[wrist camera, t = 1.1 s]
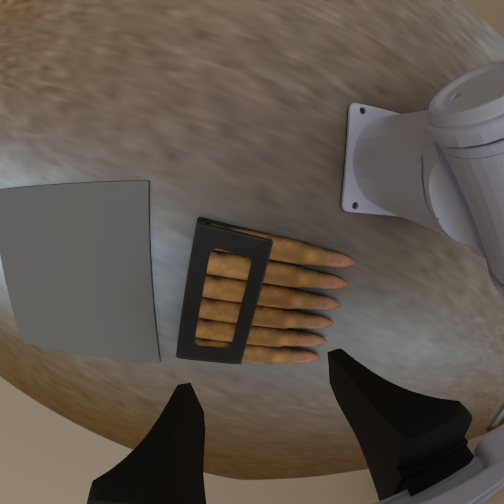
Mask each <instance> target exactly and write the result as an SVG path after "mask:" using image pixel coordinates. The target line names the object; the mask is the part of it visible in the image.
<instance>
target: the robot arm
mask: <svg viewBox="0 0 504 504" xmlns="http://www.w3.org/2000/svg"><path fill="white" fill-rule="evenodd" d="M360 108H362V109H363V111H364V113H363V114H361V113H360ZM354 202H356V207H355V208H352V204H353V203H354ZM341 207H342V209H343V210H344V211H347V212H355V213H366V214H378V215H388V216H398V217H403V218H406V219H408V220H411V221H413V222H415V223H418V224H420V225H422V226H425V227H427V228H429V229H431V230H434V231H436V232H438V233H440V234H443V235H445V236H447V237H449V238H452V239H454V240H456V241H458V242H460V243H462V244H465V245H468V246H469V248H470V250H471V251H472V252H473V253H475V254H477V255H479V256H481V257H483V258H487V259H486V261H487V266H488V272H489V275H490V279H491V281H492V282H493V284H494V286H495V287H496V288H497V290H498V291H499V292H500V293H501V294H502V295H504V61H499V62H494V63H491V64H487V65H484V66H482V67H479V68H477V69H474V70H472V71H470V72H468V73H466V74H464V75H462V76H460V77H458V78H457V79H455V80H454V81H452V82H451V83H449V84H448V85H446V86H445V87H444V88H443V89H441V90H440V91H439V92H438V93H437V94H436V95H435V96H434V97H433V99H432V100H431V102H430V104H429V108H428V110H424V111H417V112H410V113H404V114H400V113H397V112H393V111H389V110H385V109H381V108H377V107H373V106H368V105H364V104H359V103H352V104H350V105H349V108H348V125H347V141H346V155H345V168H344V179H343V189H342V199H341ZM328 363H329V376H330V384H331V387H332V390H333V392H334V395H335V397H336V400H337V402H338V404H339V406H340V407H341V409H342V411H343V413H344V415H345V417H346V418H347V420H348V422H349V424H350V426H351V427H352V429H353V431H354V433H355V435H356V437H357V439H358V441H359V444H360V446H361V449H362V451H363V454H364V456H365V459H366V462H367V464H368V467H369V470H370V473H371V476H372V478H373V481H374V484H375V488H376V491H377V494H378V497H379V502H377V503H374V504H482V503H483V502H485V501H486V500H487V499H489V498H490V497H491V496H492V495H494V494H495V493H496V492H497V491H499V490H500V489H501V488H502V487H504V429H503V427H502V426H499V427H498V428H497V429H495V430H494V431H493V432H491V433H490V434H489V435H487V436H486V437H485V438H483V439H482V440H481V441H480V442H479V443H478V445H477V446H476V448H475V451H474V452H472V453H471V451H470V450H469V449H468V447H467V446H466V445H467V444H468V441H467V440H466V438H465V437H464V436H465V434H466V432H467V430H468V428H469V426H470V423H471V420H472V415H471V414H470V413H469V411H468V410H467V409H466V408H465V407H464V406H463V405H462V404H461V403H460V402H459V401H454V400H446V399H439V398H434V397H430V396H425V395H422V394H419V393H416V392H412V391H409V390H407V389H404V388H402V387H399V386H397V385H395V384H393V383H391V382H389V381H387V380H385V379H384V378H382V377H380V376H378V375H377V374H375V373H373V372H372V371H370V370H369V369H367V368H366V367H364V366H363V365H362V364H360V363H359V362H358V361H356V360H355V359H354V358H352V357H351V356H350V355H348V354H347V353H346V352H345V351H343V350H342V349H336V350H333V351H330V352H328ZM204 442H205V422H204V411H203V409H202V407H201V405H200V403H199V401H198V399H197V396H196V394H195V392H194V390H193V388H192V385H191V383H187V384H180V385H178V386H177V387H176V389H175V391H174V392H173V394H172V396H171V398H170V400H169V401H168V403H167V405H166V407H165V408H164V410H163V412H162V413H161V415H160V417H159V418H158V420H157V421H156V423H155V424H154V426H153V427H152V429H151V430H150V431H149V433H148V434H147V435H146V437H145V438H144V439H143V440H142V441H141V443H140V444H139V445H138V446H137V447H136V448H135V449H134V450H133V451H132V452H131V453H130V454H129V455H128V456H127V457H126V458H125V459H124V460H122V461H121V462H120V463H119V464H117V465H116V466H115V467H114V468H112V469H111V470H109V471H108V472H106V473H105V474H103V475H102V476H100V477H98V478H97V479H95V480H93V482H92V485H91V489H90V493H89V497H88V501H87V504H206V499H205V490H204V478H203V461H204Z"/></svg>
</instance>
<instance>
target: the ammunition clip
mask: <svg viewBox="0 0 504 504" xmlns="http://www.w3.org/2000/svg"><path fill="white" fill-rule="evenodd" d="M217 250H218V251H217ZM222 251H224V252H222ZM228 252H230V253H228ZM233 253H235V254H233ZM269 259H270V260H269ZM271 260H276V261H271ZM277 261H282V262H288V263H294V264H300V265H308V264H312V265H319V266H321V265H322V266H328V267H349V266H353V265H355V261H353V260H352V259H351V258H349V257H347V256H345V255H343V254H340V253H337V252H334V251H330V250H326V249H323V248H319V247H315V246H313V245H310V244H308V243H305V242H302V241H297V240H292V239H287V238H282V237H277V236H272V235H269V234H266V233H262V232H258V231H254V230H250V229H246V228H242V227H238V226H234V225H230V224H226V223H222V222H217V221H213V220H209V219H205V218H201V217H199V218H198V219H197V224H196V229H195V234H194V240H193V245H192V251H191V257H190V263H189V269H188V275H187V281H186V288H185V294H184V301H183V308H182V315H181V322H180V329H179V337H178V344H177V352H176V357H177V358H182V359H190V360H199V361H208V362H219V363H230V364H241V362H242V361H246V362H256V363H268V364H272V363H305V362H311V361H315V360H318V359H320V356H319V355H317V354H315V353H312V352H309V351H304V350H299V349H291V348H285V347H280V346H316V345H321V344H324V343H326V342H327V340H326V339H324V338H323V337H320V336H318V335H314V334H310V333H305V332H297V331H292V330H287V329H284V328H309V329H318V328H326V327H330V326H332V325H334V323H333V322H332V321H331V320H329V319H327V318H324V317H321V316H318V315H313V314H307V313H302V312H297V311H292V310H290V309H294V308H301V309H316V310H325V309H334V308H337V307H340V306H341V304H340V303H339V302H338V301H336V300H334V299H332V298H329V297H326V296H322V295H318V294H312V293H308V292H303V291H299V290H297V289H294V288H290V287H309V288H321V289H338V288H344V287H346V286H348V283H347V282H346V281H344V280H342V279H340V278H338V277H336V276H333V275H330V274H326V273H321V272H317V271H313V270H309V269H306V268H303V267H301V266H298V265H293V264H288V263H282V262H277ZM266 283H267V284H266ZM272 284H274V285H272ZM279 285H280V286H279ZM285 286H287V287H285Z"/></svg>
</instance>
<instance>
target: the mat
mask: <svg viewBox="0 0 504 504" xmlns="http://www.w3.org/2000/svg"><path fill="white" fill-rule="evenodd" d="M0 254H1V260H2V265H3V270H4V275H5V280H6V284H7V289H8V293H9V297H10V301H11V305H12V308H13V312H14V315H15V319H16V322H17V326H18V329H19V332H20V335H21V338H22V341H23V343H26V344H31V345H35V346H40V347H45V348H50V349H56V350H61V351H67V352H73V353H79V354H85V355H92V356H99V357H107V358H115V359H123V360H133V361H143V362H154V363H160V361H161V360H160V353H159V345H158V336H157V327H156V318H155V307H154V295H153V282H152V266H151V245H150V181H111V182H86V183H67V184H52V185H39V186H27V187H17V188H7V189H0Z"/></svg>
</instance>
